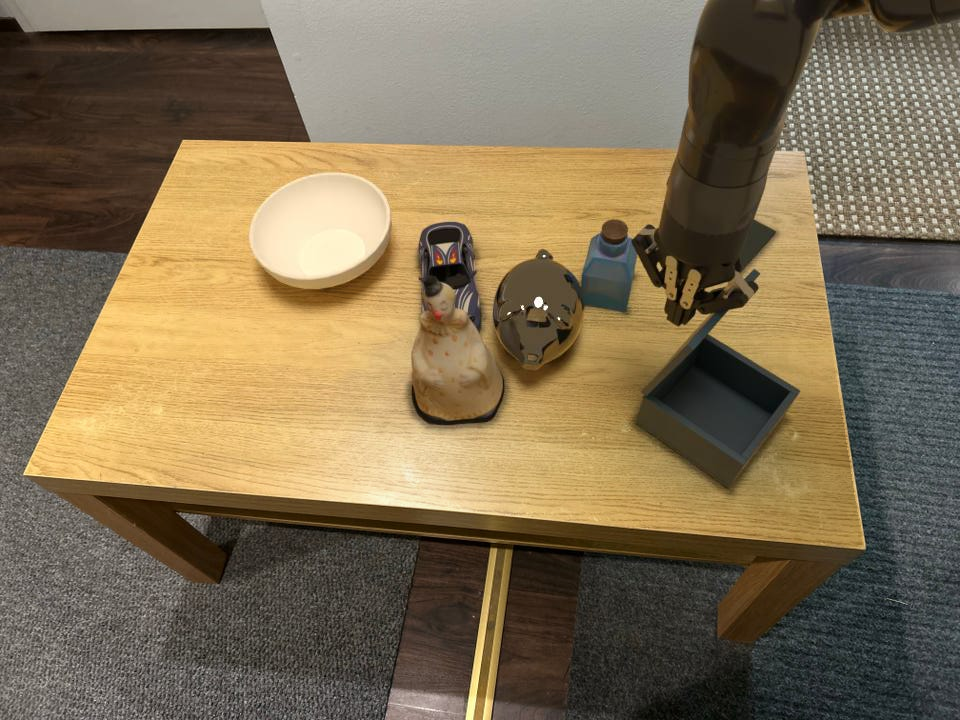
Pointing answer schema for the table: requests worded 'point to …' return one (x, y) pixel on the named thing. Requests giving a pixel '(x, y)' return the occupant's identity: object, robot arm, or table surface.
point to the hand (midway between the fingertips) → (677, 317)
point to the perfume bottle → (609, 268)
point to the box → (716, 409)
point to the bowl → (321, 230)
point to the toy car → (451, 264)
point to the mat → (755, 242)
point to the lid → (690, 343)
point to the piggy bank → (538, 310)
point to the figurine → (452, 364)
